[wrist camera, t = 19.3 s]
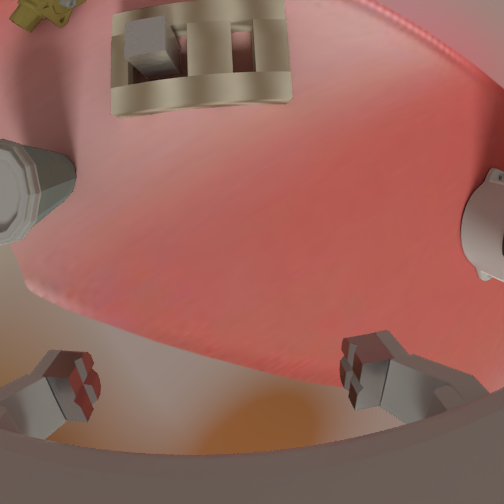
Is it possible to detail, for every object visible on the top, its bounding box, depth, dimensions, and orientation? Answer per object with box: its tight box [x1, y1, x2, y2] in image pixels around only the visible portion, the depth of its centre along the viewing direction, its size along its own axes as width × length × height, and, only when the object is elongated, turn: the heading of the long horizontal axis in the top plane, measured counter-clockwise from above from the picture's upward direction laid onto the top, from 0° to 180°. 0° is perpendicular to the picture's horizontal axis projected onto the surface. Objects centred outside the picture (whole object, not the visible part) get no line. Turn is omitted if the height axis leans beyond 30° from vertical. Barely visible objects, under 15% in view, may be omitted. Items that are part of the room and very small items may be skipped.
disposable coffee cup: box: [0, 139, 76, 246], centre depth 29 cm, size 11×11×15 cm
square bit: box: [124, 15, 181, 80], centre depth 29 cm, size 4×4×10 cm
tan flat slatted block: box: [111, 0, 292, 119], centre depth 32 cm, size 20×13×4 cm, turn 93°
